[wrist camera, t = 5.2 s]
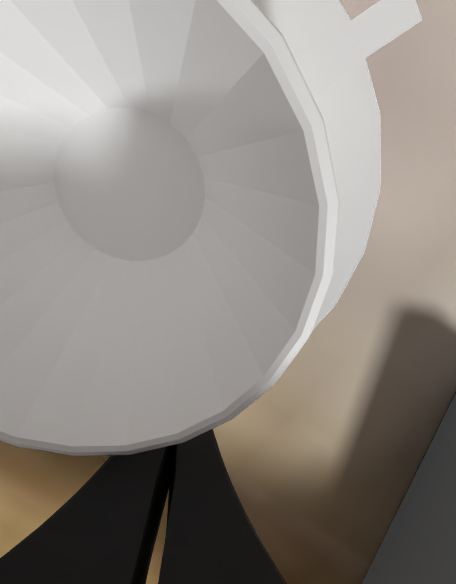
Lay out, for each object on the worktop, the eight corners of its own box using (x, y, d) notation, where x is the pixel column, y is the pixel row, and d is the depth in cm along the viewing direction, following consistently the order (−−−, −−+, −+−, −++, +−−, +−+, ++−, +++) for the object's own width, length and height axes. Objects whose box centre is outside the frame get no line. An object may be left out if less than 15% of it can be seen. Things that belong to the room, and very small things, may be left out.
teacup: (453, 195, 10) (645, 268, 6) (152, 429, 14) (110, 597, 9) (98, -311, 7) (-220, -1325, 2) (-187, 176, 10) (-549, 234, 6)
